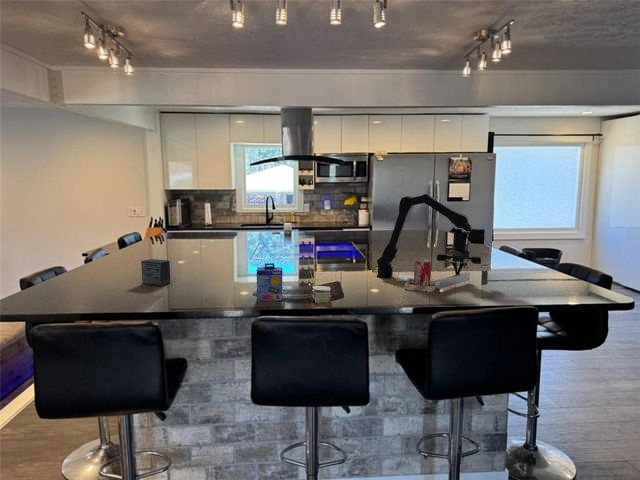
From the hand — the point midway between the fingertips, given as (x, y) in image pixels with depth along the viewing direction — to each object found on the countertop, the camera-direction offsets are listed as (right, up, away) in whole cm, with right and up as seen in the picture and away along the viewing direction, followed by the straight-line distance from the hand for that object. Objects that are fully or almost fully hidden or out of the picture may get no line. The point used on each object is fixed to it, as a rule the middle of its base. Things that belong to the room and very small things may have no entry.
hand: (457, 277), depth 192 cm
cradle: (-17, -4, -6) cm, 19 cm away
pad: (-20, -2, +8) cm, 22 cm away
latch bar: (-4, -3, -6) cm, 8 cm away
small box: (-133, -3, -5) cm, 134 cm away
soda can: (-17, -4, -6) cm, 19 cm away
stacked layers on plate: (-62, -7, -28) cm, 68 cm away
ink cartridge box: (-81, -6, -26) cm, 86 cm away
